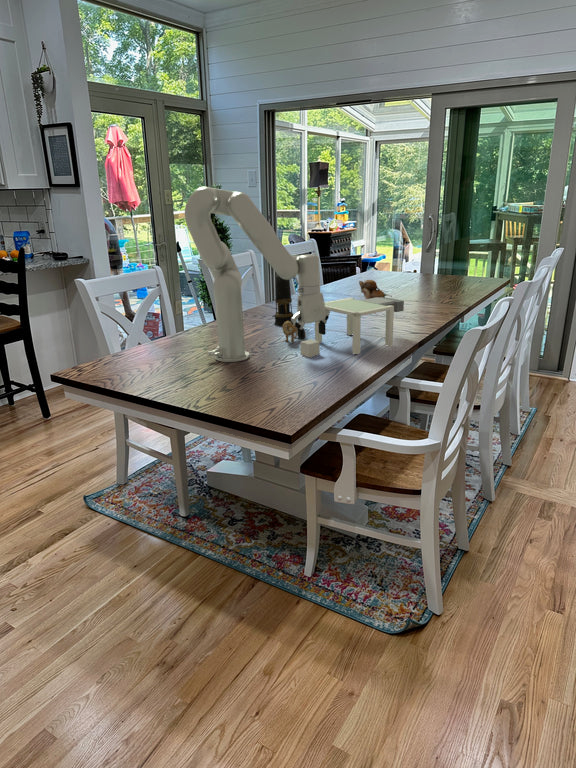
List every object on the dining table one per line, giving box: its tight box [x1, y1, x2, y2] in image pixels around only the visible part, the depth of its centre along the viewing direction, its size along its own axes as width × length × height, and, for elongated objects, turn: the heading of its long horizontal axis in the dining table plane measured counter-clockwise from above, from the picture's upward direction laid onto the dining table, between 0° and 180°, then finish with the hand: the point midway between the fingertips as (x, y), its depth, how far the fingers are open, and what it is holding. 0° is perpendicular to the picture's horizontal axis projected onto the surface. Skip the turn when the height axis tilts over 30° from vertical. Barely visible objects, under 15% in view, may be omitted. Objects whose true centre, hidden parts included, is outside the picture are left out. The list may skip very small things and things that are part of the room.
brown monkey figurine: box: [358, 279, 393, 300], centre depth 293 cm, size 13×16×15 cm
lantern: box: [271, 273, 294, 327], centre depth 243 cm, size 9×9×30 cm
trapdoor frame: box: [314, 297, 395, 355], centre depth 209 cm, size 19×24×16 cm
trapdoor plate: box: [325, 296, 405, 313], centre depth 211 cm, size 29×19×4 cm
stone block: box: [300, 339, 321, 358], centre depth 199 cm, size 5×5×5 cm
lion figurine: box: [282, 321, 307, 343], centre depth 219 cm, size 15×5×9 cm, turn 151°
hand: (312, 336), depth 198 cm, fingers open, 9 cm apart
